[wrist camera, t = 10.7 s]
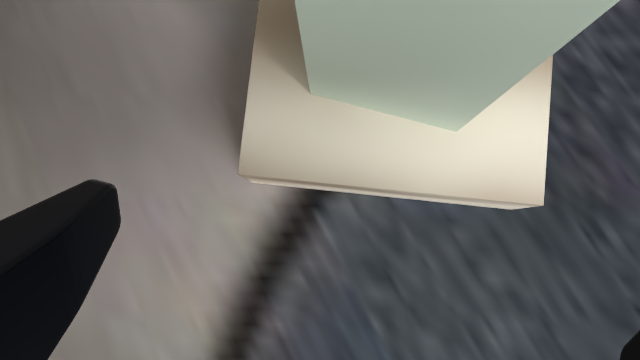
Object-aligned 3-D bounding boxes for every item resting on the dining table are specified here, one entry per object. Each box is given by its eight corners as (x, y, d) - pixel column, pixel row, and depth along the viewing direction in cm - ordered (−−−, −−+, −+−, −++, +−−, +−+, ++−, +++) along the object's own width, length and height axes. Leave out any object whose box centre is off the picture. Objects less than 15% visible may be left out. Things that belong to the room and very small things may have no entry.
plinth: (510, 209, 19) (543, 205, 16) (252, 182, 20) (237, 173, 17) (528, -39, 20) (561, -85, 17) (281, -60, 21) (272, -109, 18)
